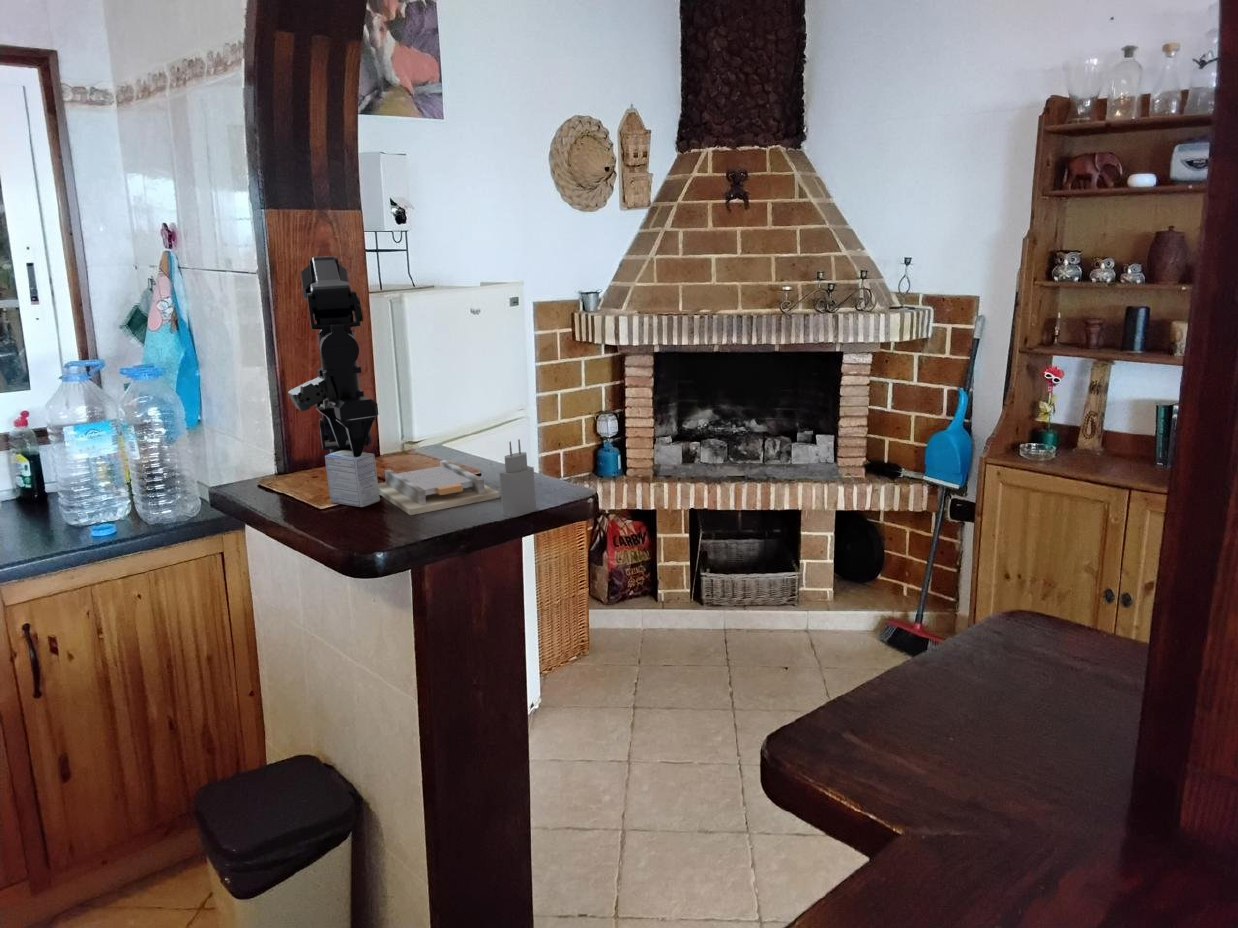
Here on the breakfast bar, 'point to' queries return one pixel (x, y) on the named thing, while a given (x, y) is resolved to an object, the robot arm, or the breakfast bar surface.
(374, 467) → the medicine box
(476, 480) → the rail board
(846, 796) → the breakfast bar surface
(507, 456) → the power adapter
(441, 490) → the rail carriage
